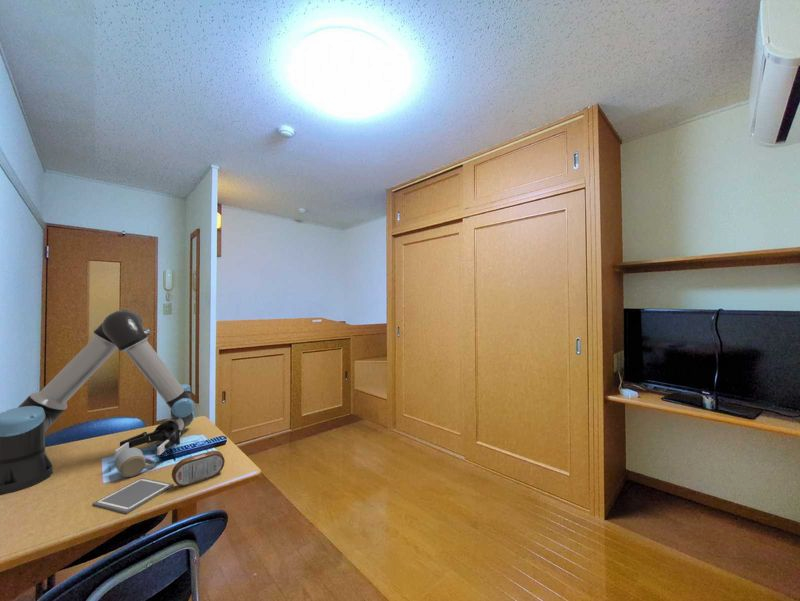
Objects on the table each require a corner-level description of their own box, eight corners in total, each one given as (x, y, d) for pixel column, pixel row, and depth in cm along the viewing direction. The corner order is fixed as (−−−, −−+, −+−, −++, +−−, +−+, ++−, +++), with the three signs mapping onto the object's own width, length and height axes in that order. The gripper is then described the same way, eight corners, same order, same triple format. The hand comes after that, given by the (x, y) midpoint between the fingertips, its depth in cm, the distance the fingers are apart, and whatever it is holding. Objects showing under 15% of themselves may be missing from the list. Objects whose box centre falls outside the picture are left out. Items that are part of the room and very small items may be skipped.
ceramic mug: (119, 482, 107) (120, 459, 107) (114, 473, 112) (114, 451, 112) (158, 469, 115) (158, 448, 115) (152, 462, 120) (152, 441, 120)
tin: (223, 470, 114) (223, 446, 114) (225, 473, 112) (225, 449, 112) (171, 487, 104) (171, 461, 104) (173, 491, 102) (172, 465, 102)
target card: (92, 505, 95) (92, 502, 95) (141, 479, 108) (141, 477, 108) (126, 514, 91) (126, 511, 91) (173, 486, 105) (173, 483, 105)
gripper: (201, 435, 138) (175, 460, 117) (136, 440, 134) (97, 466, 113) (201, 418, 138) (175, 439, 117) (135, 422, 134) (97, 445, 113)
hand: (137, 453), depth 115 cm, fingers open, 13 cm apart
